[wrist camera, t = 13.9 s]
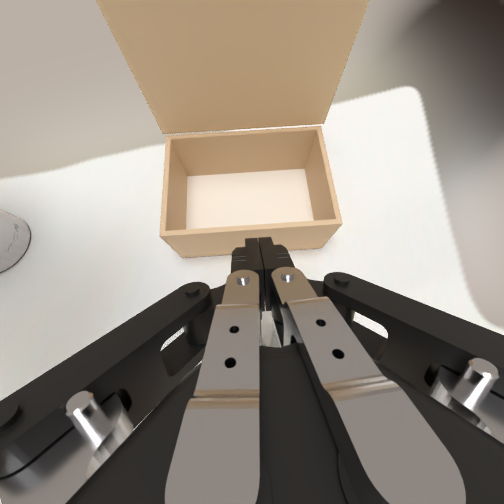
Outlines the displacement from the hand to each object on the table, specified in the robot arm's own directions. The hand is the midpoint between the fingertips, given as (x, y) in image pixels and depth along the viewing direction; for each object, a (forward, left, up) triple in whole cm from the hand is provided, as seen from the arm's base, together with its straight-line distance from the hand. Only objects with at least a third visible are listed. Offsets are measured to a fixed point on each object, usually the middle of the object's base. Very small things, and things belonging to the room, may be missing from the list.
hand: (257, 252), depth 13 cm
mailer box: (0, +13, -18) cm, 22 cm away
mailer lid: (0, +20, -3) cm, 20 cm away
